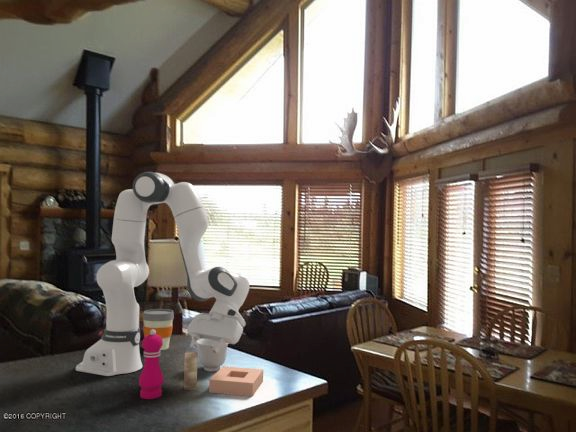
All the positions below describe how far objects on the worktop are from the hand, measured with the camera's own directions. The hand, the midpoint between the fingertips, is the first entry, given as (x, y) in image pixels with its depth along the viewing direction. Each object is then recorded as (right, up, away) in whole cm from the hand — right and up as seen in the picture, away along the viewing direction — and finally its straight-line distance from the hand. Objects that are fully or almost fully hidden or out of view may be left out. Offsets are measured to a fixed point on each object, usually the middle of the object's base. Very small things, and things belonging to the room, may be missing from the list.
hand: (203, 349), depth 158 cm
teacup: (+1, -11, +16) cm, 20 cm away
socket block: (+11, -11, -3) cm, 16 cm away
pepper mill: (-14, -11, -12) cm, 21 cm away
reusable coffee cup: (-26, -11, +42) cm, 50 cm away
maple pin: (-3, -11, -5) cm, 12 cm away
